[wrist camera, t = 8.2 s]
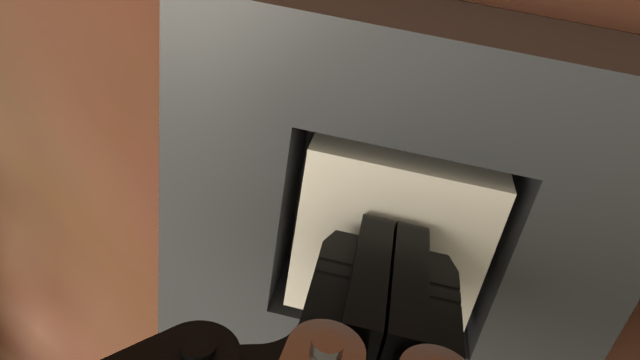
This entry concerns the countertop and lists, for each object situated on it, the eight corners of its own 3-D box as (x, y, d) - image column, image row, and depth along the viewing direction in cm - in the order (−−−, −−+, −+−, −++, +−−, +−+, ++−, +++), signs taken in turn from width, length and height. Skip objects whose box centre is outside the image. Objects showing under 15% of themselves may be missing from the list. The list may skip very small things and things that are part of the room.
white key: (502, 143, 14) (516, 194, 11) (454, 281, 16) (458, 346, 14) (326, 106, 14) (307, 149, 12) (303, 246, 16) (283, 304, 14)
